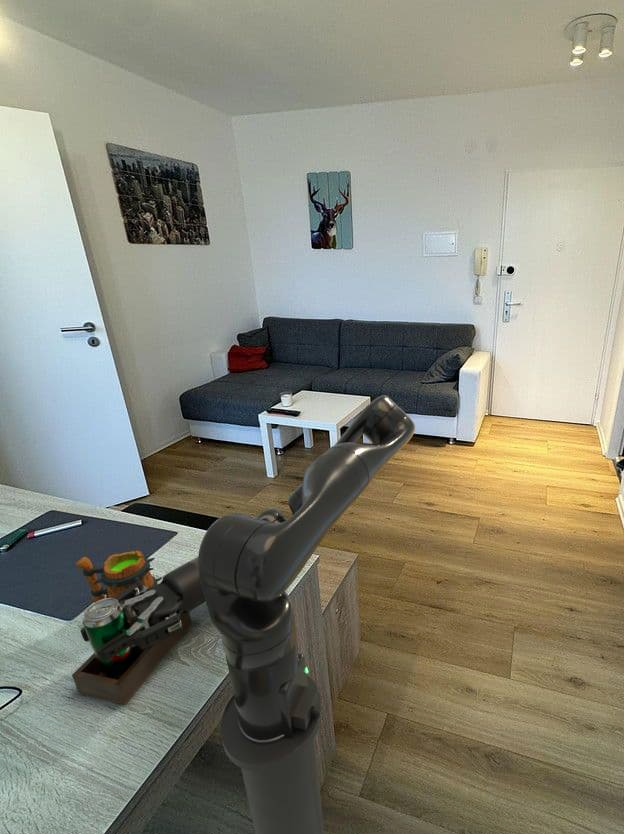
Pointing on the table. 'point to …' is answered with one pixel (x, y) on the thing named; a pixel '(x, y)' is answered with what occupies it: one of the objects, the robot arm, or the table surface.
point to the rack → (125, 686)
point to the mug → (118, 574)
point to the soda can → (109, 635)
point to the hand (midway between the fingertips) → (90, 645)
